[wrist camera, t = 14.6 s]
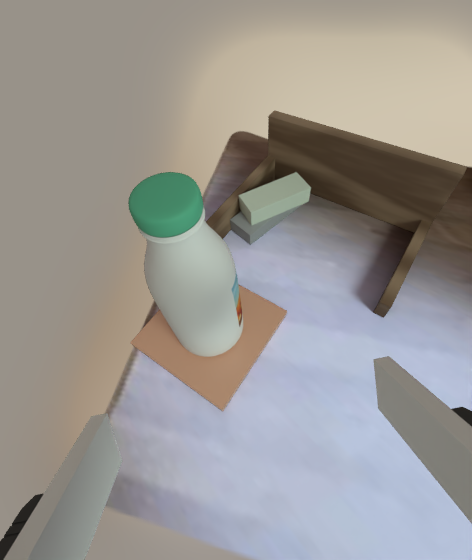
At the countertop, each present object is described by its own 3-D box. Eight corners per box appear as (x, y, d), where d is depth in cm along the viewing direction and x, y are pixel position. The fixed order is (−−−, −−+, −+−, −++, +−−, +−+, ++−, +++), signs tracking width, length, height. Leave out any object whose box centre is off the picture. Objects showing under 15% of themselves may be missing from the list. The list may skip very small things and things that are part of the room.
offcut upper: (294, 186, 46) (296, 172, 44) (308, 201, 44) (310, 187, 42) (239, 208, 44) (238, 195, 42) (251, 225, 42) (251, 212, 40)
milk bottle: (237, 363, 34) (209, 247, 17) (169, 353, 35) (79, 236, 18) (248, 300, 38) (234, 156, 21) (186, 293, 39) (126, 151, 22)
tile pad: (200, 266, 42) (199, 263, 41) (286, 314, 37) (287, 311, 37) (132, 345, 37) (130, 342, 36) (222, 411, 32) (221, 410, 31)
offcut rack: (272, 171, 51) (274, 110, 43) (427, 228, 42) (467, 166, 34) (207, 244, 44) (194, 188, 35) (376, 331, 35) (411, 284, 27)
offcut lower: (283, 192, 49) (284, 179, 47) (303, 205, 47) (305, 192, 45) (231, 231, 45) (229, 219, 43) (250, 246, 44) (250, 235, 42)
